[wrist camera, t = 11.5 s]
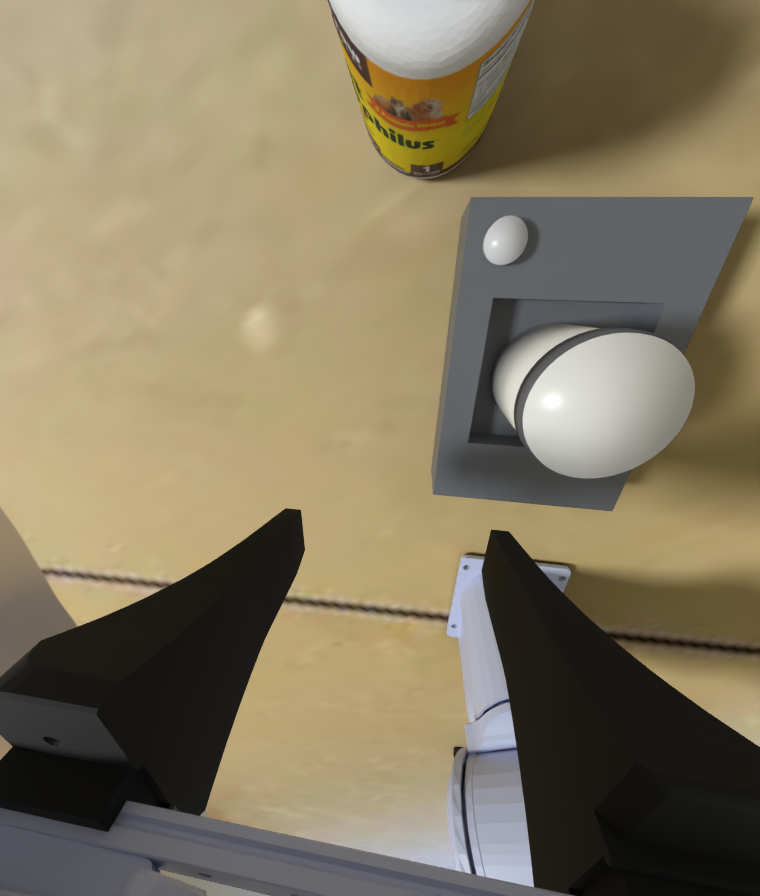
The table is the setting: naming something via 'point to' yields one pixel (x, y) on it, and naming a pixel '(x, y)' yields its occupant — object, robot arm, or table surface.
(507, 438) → the grey panel with knob
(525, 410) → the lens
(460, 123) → the supplement bottle
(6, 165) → the table surface
